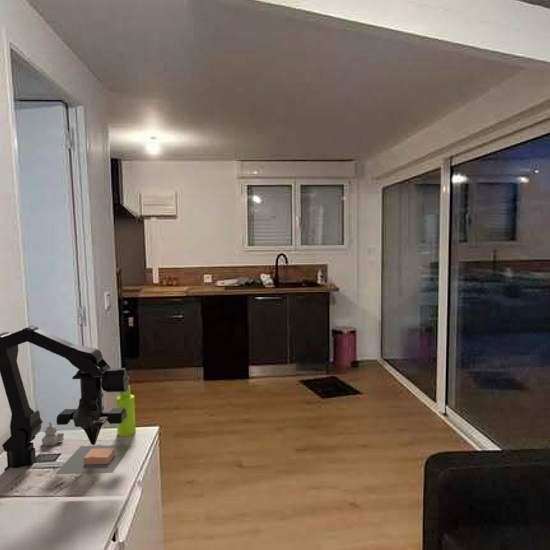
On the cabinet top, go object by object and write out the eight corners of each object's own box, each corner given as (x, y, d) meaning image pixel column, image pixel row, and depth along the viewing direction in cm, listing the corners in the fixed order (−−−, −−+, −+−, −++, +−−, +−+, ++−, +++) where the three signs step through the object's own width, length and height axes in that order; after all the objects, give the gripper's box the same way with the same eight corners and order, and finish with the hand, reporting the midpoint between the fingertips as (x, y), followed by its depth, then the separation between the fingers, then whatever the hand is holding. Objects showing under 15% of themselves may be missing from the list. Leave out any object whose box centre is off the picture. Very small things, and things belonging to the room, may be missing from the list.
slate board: (54, 476, 130) (54, 473, 130) (80, 448, 148) (80, 446, 148) (112, 475, 130) (112, 472, 130) (131, 447, 148) (131, 445, 148)
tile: (83, 457, 135) (107, 457, 135) (91, 448, 141) (114, 448, 141) (83, 464, 135) (108, 464, 135) (91, 455, 141) (114, 455, 141)
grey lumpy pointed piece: (43, 443, 153) (42, 419, 152) (65, 440, 155) (64, 416, 154) (40, 450, 147) (39, 425, 147) (63, 447, 149) (62, 422, 149)
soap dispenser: (111, 435, 158) (109, 377, 157) (131, 429, 163) (128, 373, 161) (119, 440, 154) (116, 380, 152) (138, 434, 158) (136, 376, 157)
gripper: (46, 402, 129) (48, 457, 130) (114, 401, 129) (116, 456, 130) (63, 390, 140) (66, 440, 141) (126, 388, 140) (128, 439, 141)
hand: (93, 444), depth 138 cm, fingers closed
